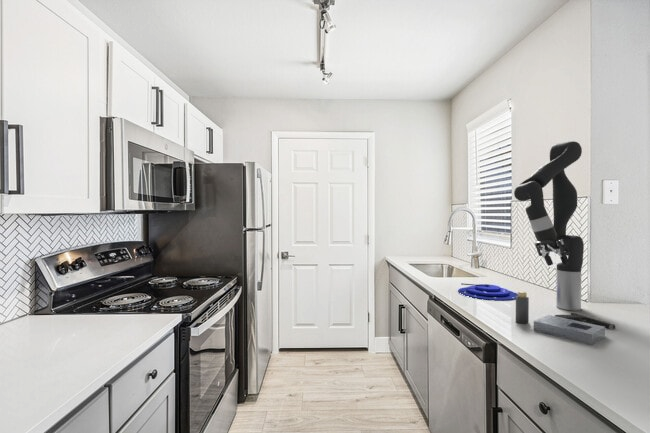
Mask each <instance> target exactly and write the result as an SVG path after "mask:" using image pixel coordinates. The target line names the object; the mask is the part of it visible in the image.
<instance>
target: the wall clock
mask: <svg viewBox="0 0 650 433" xmlns="http://www.w3.org/2000/svg"><path fill="white" fill-rule="evenodd" d="M461 285H462V286H463V285H464V286H465V285H466V286H465V287H461V288H458V290H457V292H459V293H461V294H463V295H465V296H464V297H466V296H469V297H468V298H470V297H472V298H471V299H475V298H477V300H482V299H483V300H484V301H491V300H494V301H495V302H504V301H505V302H507V301H509V302H510V301H516V296H518V292H516V291H512V290H509V289H507V288H504V287H501V286H499V285H495V284H490V283H489V284H486V283H484V284H483V283H482V284H481V283H479V284H476V283H475V284H474V283H473V284H472V283H461ZM459 293H458V294H459ZM461 294H460V295H461ZM463 295H462V296H463ZM483 300H482V301H483ZM494 301H493V302H494Z"/></svg>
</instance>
